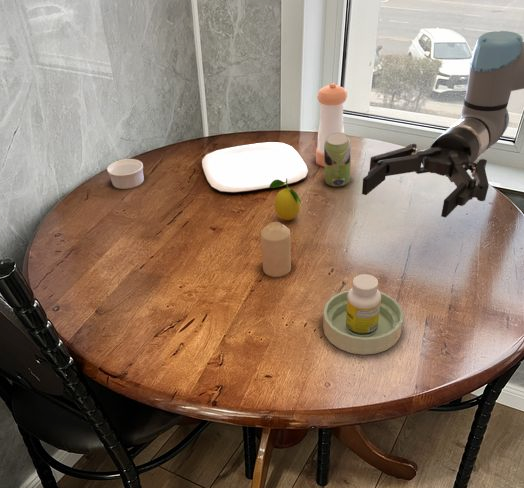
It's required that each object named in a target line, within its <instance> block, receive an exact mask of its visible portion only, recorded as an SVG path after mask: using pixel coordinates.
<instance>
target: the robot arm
mask: <svg viewBox="0 0 524 488" xmlns="http://www.w3.org/2000/svg"><path fill="white" fill-rule="evenodd" d="M519 90H524V39H523V36H522V35H521V34H520V33H518V32H514V31H507V30H506V31H505V30H499V31H488V32H485V33H483V34H481V35H480V36H479V37H478V38H477V39H476V42H475V46H474V49H473V51H472V56H471V59H470V63H469V73H468V79H467V84H466V91H465V96H464V100H463V104H462V108H461V113H460V118H459V120H457V121H456V122H455V123H454V124H453V125H451V126H450V127H449V128H447V129H446V130H445V131H444V132H443V133H441V135H439V136H438V137H437V138H436V139H435V140H434V141H433V142H432V144H431V145H430V146H429V147H428V148H425V149H423V150H421V149H417V148H418V147H417V144H416V143H410V144H409V145H407V146H405V147H402V148H401V147H400V148H398V149H395V150H391V151H388V152H387V151H386V152H384V153H381V154H377V155H373V156H371V157H370V158H369V159H370V160H369V170H368V171H367V175H366V176H364V177H362V188H361V189H362V190H361V195H364V196H367V195H369V194H370V193H371V192H372V191H373V190H374V189H376V188H377V187H378V186H379V185H380V184H382V183H383V182H384V181H385V180H386V178H387V177H389V176H397V175H404V174H409V173H415V174H417V175H421V174H426V173H427V174H428V173H430V174H437V175H439V176H443V177H446V178H448V180H449V181H450V183H454V185H455V189H454V190H453V191H451V193H450V194H448V196H447V197H445V198H444V200H443V204H442V209H441V214H440V217H442V218H445V219H446V218H447V217H448V216H449V215H450V214H451V213H452V212H453V211H454V210H455V209H456V208H457V207H458V206H459V207H463V206H465V205H466V204H467V203H468V202H469V201H471V200H473V199H474V198H475V199H476V200H477V201H479V202H484V201H486V198H487V194H488V190H489V187H490V185H489V180H488V176H487V172H486V167H487V162H488V160H487V159H486V158H481V156H483V155H484V153H486V151H487V150H488V149H489V148H490V147H492V146H493V145H495V144H497V142H498V141H499V140H500V139H501V137H502V136H503V135H504V133H506V131H507V129H508V126H509V123H510V115H509V111H508V109H507V108H508V106H509V105H508V104H509V100H510V97H511V94H512V92H514V91H519ZM479 158H481V159H479ZM478 159H479V160H478ZM477 160H478V161H477ZM468 171H470V173H471V175H470V174H469V173H468Z"/></svg>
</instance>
